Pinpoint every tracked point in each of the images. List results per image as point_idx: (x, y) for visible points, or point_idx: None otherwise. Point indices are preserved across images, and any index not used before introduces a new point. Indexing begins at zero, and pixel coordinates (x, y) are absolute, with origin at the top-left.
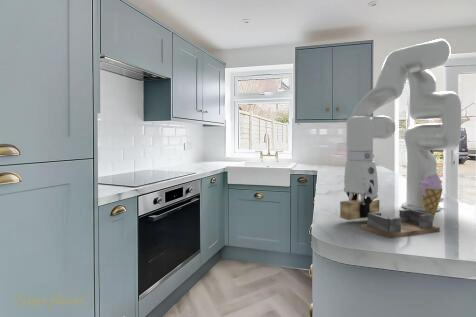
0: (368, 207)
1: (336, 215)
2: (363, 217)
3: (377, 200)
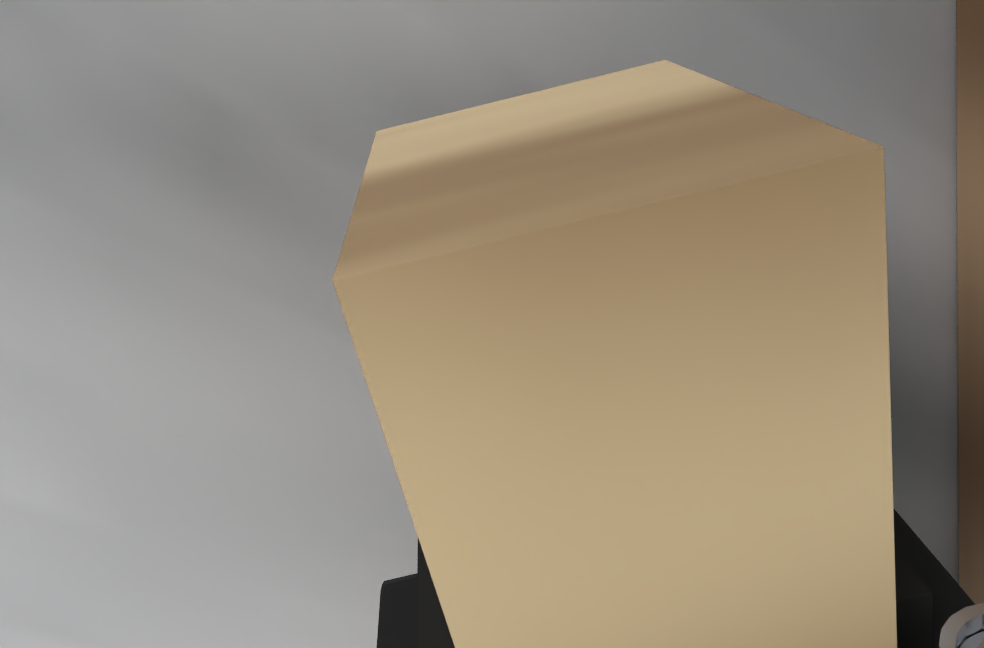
0: (949, 594)
1: (66, 631)
2: None
3: (880, 256)
